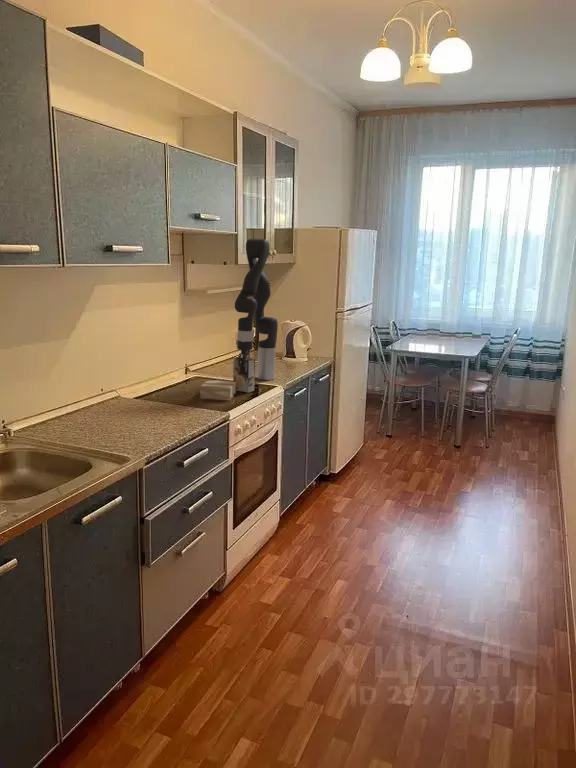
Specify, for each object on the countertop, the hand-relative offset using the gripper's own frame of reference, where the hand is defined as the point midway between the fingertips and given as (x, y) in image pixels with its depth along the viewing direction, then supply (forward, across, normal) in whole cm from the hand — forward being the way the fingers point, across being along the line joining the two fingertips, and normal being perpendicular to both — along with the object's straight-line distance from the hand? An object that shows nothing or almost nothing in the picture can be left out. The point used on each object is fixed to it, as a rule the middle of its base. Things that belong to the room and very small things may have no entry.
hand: (244, 372), depth 277 cm
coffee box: (+9, 0, 0) cm, 9 cm away
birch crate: (+10, +13, -10) cm, 19 cm away
